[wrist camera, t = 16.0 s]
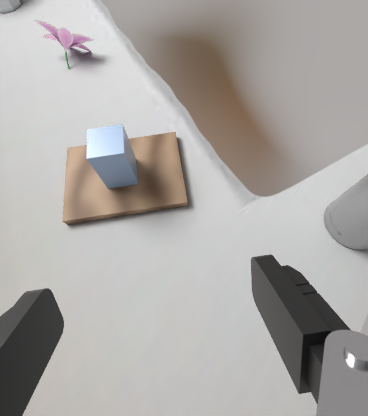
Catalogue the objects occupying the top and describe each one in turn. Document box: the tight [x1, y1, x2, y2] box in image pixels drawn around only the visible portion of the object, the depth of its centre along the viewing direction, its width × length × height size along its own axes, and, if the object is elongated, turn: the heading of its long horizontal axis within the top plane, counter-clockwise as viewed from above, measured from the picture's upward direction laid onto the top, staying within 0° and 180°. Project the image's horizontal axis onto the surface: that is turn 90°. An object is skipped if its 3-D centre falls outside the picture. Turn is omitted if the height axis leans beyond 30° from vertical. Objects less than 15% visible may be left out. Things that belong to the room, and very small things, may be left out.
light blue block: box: [87, 124, 138, 189], centre depth 40 cm, size 6×6×9 cm
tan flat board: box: [63, 132, 188, 224], centre depth 41 cm, size 22×16×8 cm
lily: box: [35, 20, 93, 69], centre depth 57 cm, size 12×12×10 cm
